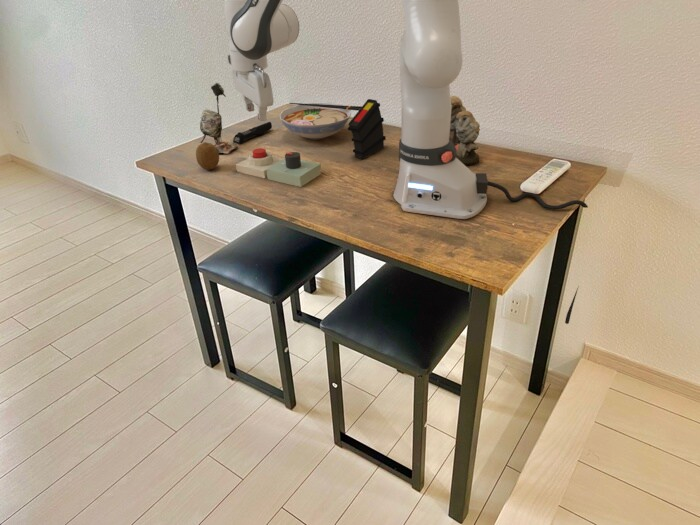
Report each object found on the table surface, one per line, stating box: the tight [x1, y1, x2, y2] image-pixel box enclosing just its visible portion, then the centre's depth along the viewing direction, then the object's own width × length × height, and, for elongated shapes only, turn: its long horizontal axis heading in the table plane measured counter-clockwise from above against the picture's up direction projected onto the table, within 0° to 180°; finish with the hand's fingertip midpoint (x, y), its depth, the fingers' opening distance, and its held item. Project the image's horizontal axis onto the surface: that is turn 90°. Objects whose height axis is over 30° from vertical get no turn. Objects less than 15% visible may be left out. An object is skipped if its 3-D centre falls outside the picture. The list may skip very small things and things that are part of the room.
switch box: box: [235, 150, 284, 179], centre depth 145 cm, size 10×10×4 cm
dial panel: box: [266, 158, 322, 188], centre depth 140 cm, size 11×10×3 cm
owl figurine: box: [449, 95, 481, 167], centre depth 144 cm, size 18×12×17 cm, turn 58°
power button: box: [252, 147, 267, 158], centre depth 144 cm, size 4×4×2 cm
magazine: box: [347, 98, 386, 160], centre depth 150 cm, size 4×13×15 cm, turn 142°
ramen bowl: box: [278, 102, 363, 141], centre depth 165 cm, size 25×23×8 cm
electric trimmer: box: [232, 121, 273, 145], centre depth 168 cm, size 4×16×3 cm, turn 143°
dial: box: [284, 151, 302, 169], centre depth 138 cm, size 4×4×4 cm
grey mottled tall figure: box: [199, 82, 238, 154], centre depth 154 cm, size 8×11×20 cm
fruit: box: [195, 141, 220, 171], centre depth 145 cm, size 6×6×8 cm
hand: (256, 115), depth 137 cm, fingers open, 8 cm apart
